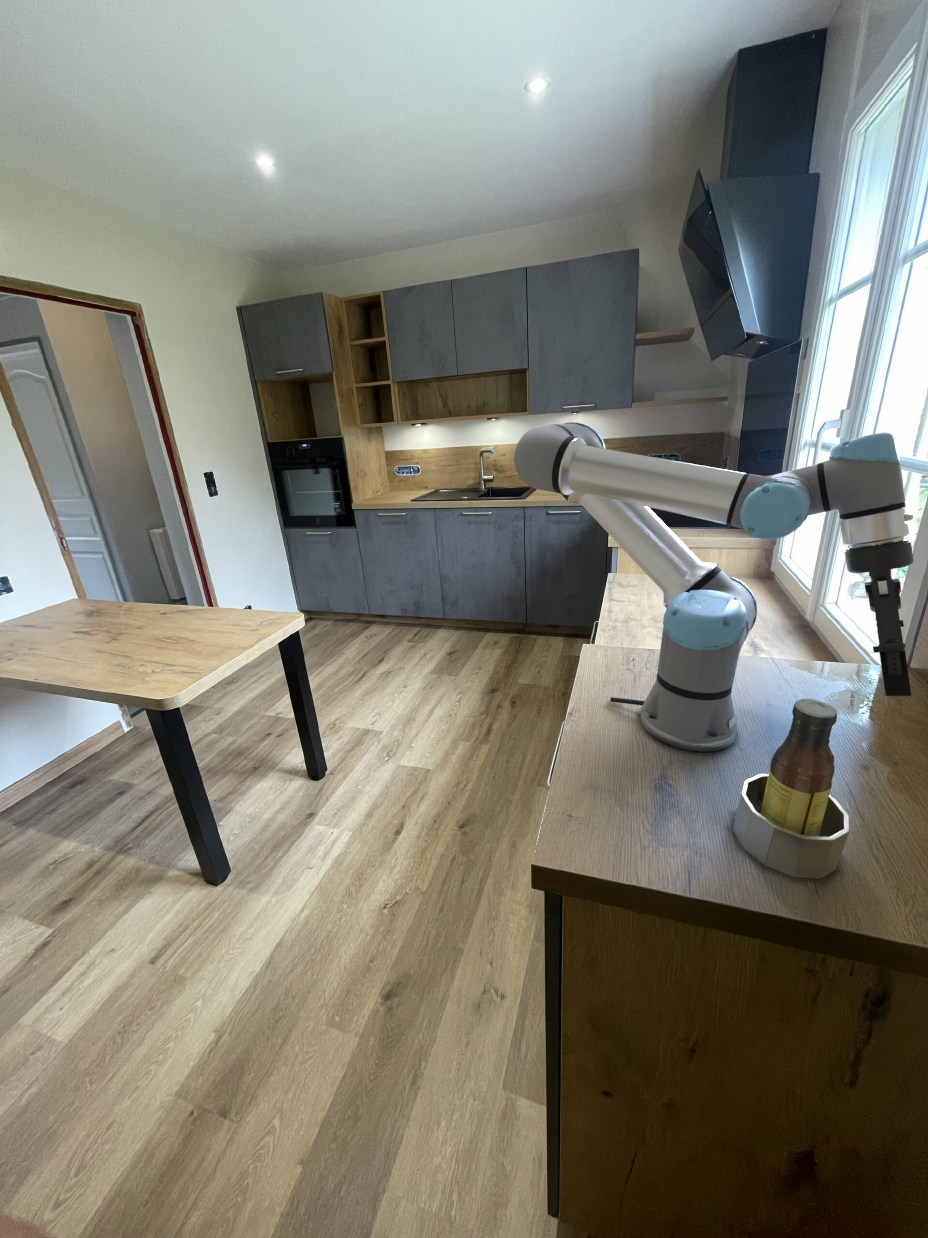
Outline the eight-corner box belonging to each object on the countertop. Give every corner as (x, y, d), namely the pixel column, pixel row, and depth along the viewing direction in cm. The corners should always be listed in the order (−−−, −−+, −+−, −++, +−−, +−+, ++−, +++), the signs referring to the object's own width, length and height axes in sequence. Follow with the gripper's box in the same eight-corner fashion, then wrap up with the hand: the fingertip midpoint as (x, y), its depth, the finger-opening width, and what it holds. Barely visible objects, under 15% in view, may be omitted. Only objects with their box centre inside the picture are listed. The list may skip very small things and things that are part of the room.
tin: (727, 850, 61) (736, 813, 58) (740, 798, 69) (748, 763, 67) (836, 895, 55) (850, 855, 52) (836, 831, 63) (848, 795, 61)
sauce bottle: (801, 826, 64) (840, 695, 56) (823, 865, 58) (869, 725, 51) (747, 819, 65) (778, 690, 58) (762, 856, 60) (798, 719, 52)
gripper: (917, 544, 60) (940, 709, 61) (904, 531, 78) (922, 658, 80) (841, 556, 65) (863, 708, 66) (846, 541, 83) (863, 660, 85)
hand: (895, 681), depth 73 cm, fingers open, 13 cm apart
